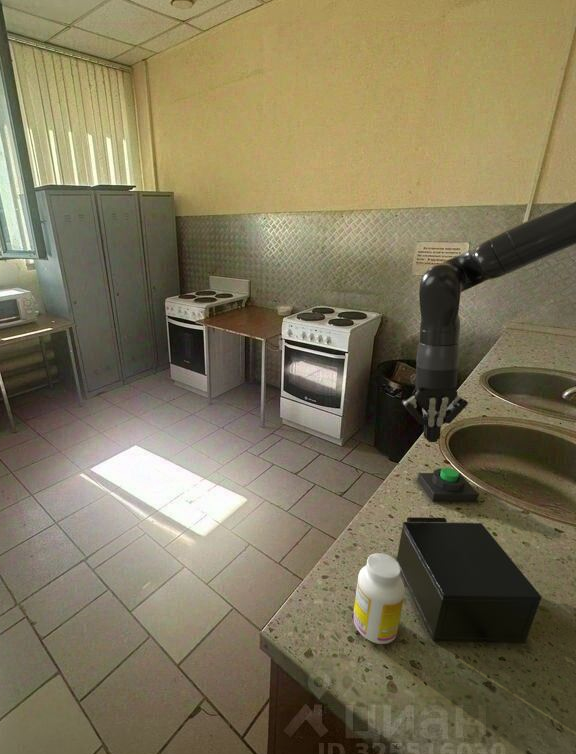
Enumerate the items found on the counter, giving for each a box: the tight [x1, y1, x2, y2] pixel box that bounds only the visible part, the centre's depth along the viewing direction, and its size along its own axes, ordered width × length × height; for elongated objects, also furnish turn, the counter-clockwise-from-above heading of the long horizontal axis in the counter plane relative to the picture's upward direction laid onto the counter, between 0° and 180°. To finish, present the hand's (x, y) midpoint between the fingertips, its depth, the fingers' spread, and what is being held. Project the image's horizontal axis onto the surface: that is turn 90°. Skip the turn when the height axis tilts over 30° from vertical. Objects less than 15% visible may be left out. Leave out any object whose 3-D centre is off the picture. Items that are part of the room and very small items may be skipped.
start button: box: [440, 467, 460, 482], centre depth 92 cm, size 4×4×2 cm
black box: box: [396, 522, 542, 644], centre depth 66 cm, size 15×14×10 cm
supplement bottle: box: [353, 552, 406, 645], centre depth 61 cm, size 7×7×13 cm
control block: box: [417, 468, 480, 503], centre depth 93 cm, size 10×8×4 cm
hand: (431, 440), depth 85 cm, fingers closed
